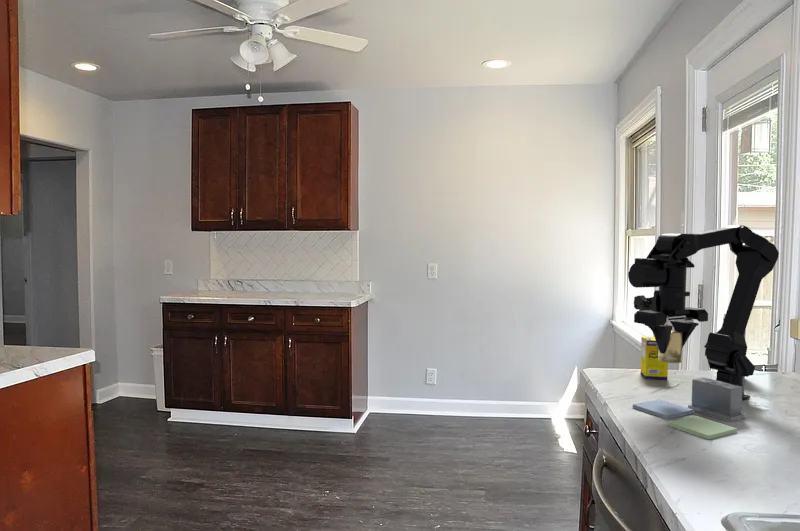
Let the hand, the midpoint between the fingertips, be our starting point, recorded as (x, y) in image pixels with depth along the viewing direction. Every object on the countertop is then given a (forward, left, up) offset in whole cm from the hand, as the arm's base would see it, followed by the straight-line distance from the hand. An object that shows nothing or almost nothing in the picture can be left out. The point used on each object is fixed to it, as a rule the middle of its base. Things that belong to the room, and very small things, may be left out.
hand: (670, 352), depth 133 cm
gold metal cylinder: (0, 0, -2) cm, 2 cm away
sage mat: (+10, +16, -12) cm, 22 cm away
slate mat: (+7, +4, -12) cm, 14 cm away
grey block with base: (-2, +11, -12) cm, 16 cm away
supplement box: (-18, -18, -12) cm, 28 cm away
